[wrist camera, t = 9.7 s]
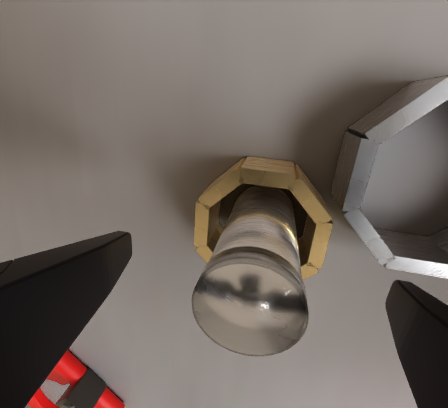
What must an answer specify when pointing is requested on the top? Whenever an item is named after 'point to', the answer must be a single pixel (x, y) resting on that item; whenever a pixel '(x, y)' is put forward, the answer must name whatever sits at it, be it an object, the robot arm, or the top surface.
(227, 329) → the round-tipped metal peg
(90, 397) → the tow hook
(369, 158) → the wide steel socket
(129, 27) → the top surface
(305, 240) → the small brass socket
